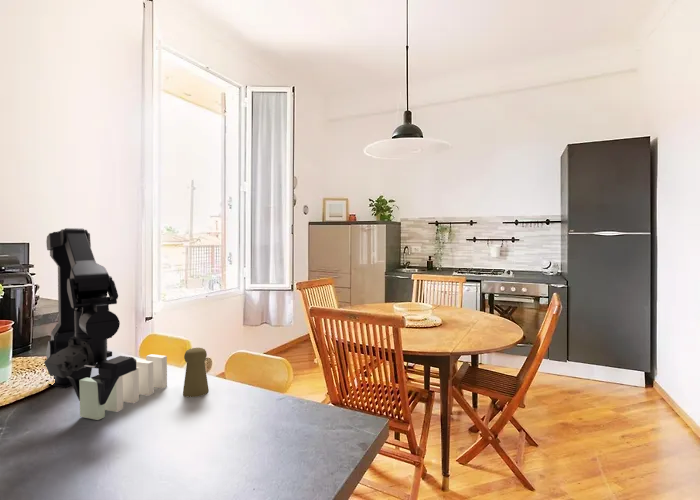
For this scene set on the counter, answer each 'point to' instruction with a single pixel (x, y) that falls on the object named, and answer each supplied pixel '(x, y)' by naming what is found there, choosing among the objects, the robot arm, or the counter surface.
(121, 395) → the domino
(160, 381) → the domino
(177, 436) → the counter surface
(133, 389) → the domino
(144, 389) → the domino
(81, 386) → the sage domino
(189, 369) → the cork
